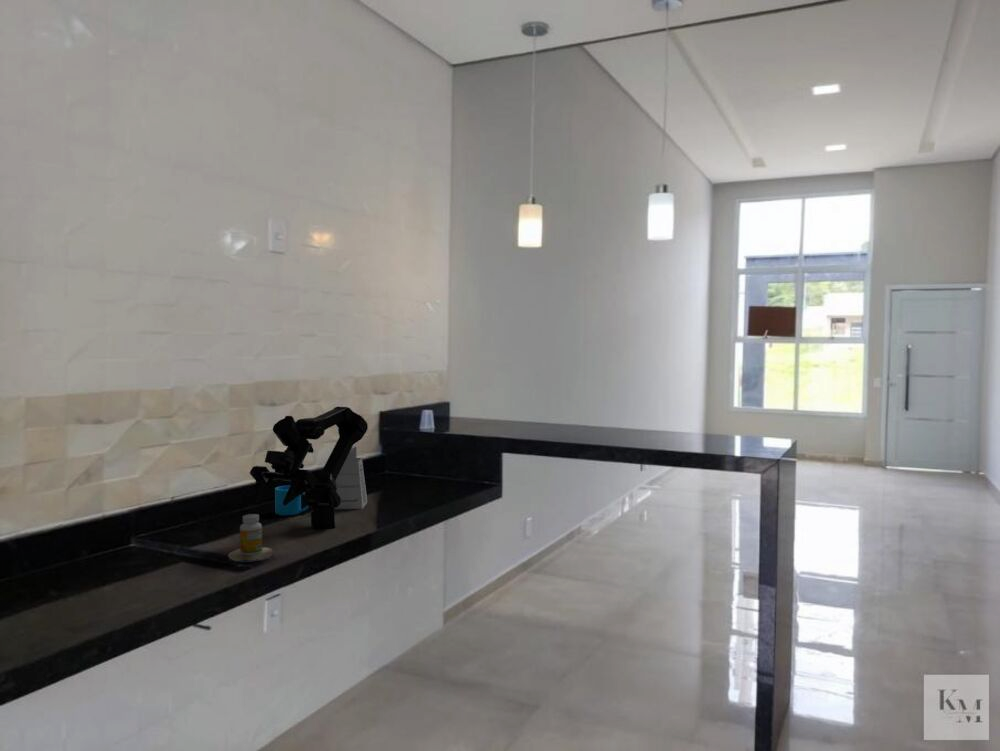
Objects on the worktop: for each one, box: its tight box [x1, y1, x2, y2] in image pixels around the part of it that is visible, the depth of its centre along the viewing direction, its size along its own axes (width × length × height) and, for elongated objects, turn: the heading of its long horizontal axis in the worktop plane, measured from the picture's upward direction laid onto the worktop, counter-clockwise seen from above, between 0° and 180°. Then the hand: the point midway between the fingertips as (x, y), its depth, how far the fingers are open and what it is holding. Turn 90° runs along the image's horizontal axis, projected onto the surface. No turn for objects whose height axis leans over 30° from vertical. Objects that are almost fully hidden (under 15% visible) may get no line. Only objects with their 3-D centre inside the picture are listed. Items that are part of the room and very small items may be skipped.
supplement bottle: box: [239, 513, 263, 555], centre depth 189 cm, size 5×5×10 cm
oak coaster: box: [227, 546, 274, 561], centre depth 189 cm, size 11×11×1 cm
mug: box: [274, 484, 310, 516], centre depth 237 cm, size 12×8×8 cm
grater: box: [335, 445, 368, 510], centre depth 248 cm, size 10×10×20 cm
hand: (269, 503), depth 196 cm, fingers open, 9 cm apart
